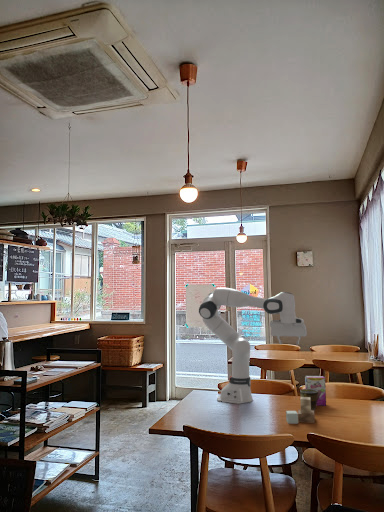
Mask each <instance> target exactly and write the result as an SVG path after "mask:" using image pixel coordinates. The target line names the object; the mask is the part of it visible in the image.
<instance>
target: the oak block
mask: <svg viewBox="0 0 384 512" xmlns="http://www.w3.org/2000/svg"><path fill="white" fill-rule="evenodd" d="M299 399H300V400H299V401H300V410H301V413H306V414H311V399H310V397H301V396H300V398H299Z"/></svg>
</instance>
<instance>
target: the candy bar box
mask: <svg viewBox="0 0 384 512" xmlns="http://www.w3.org/2000/svg"><path fill="white" fill-rule="evenodd" d="M304 383H305V388H304V389H313V390H317V391H318V398H317V405H316V407H319V406H320V407H326V406H327V396H326V395H327V394H326V393H327V392H326V391H327V388H326V377H325V376H324V375H322V376H320V375H305V376H304Z"/></svg>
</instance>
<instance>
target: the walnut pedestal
mask: <svg viewBox="0 0 384 512" xmlns="http://www.w3.org/2000/svg"><path fill="white" fill-rule="evenodd" d="M297 413H298V423H308V424H309V423H310V424H315V422H316V421H315V419H316V418H315V410H311V414H306V413H301V409H298V411H297Z"/></svg>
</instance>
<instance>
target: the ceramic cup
mask: <svg viewBox="0 0 384 512" xmlns="http://www.w3.org/2000/svg"><path fill="white" fill-rule="evenodd" d="M299 393H300V398H301V397H310V399H311V410H312V411H315V410H316V409H317V406H316V405H317V398H318V391H317V390H313V389H306V388H304V389H300V390H299Z"/></svg>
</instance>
